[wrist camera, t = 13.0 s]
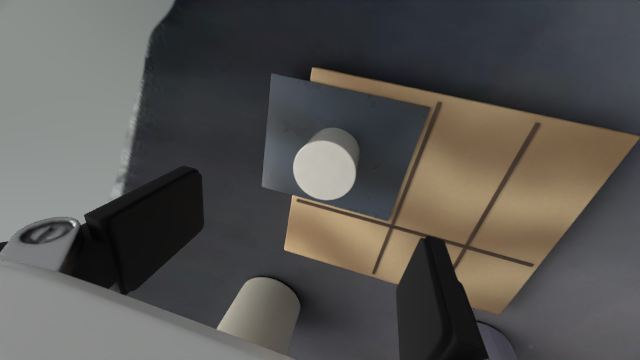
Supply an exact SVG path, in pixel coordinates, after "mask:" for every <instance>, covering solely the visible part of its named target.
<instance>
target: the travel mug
mask: <svg viewBox="0 0 640 360" xmlns="http://www.w3.org/2000/svg"><path fill="white" fill-rule="evenodd" d="M299 312H300V303H299V300H298V298H297V296H296V295H295V293H294V292H293V291H292V290H291V289H290V288H289V287H287V286H286V285H284V284H283V283H281V282H279V281H277V280H274V279H271V278H265V277H257V278H253V279H250V280H248V281H247V282H246V283H245V284H244V286H243V287H242V289H241V290H240V292H239V294H238V295H237V297H236V298H235V300H234V302H233V303H232V305H231V306H230V308H229V310H228V311H227V313H226V314H225V316H224V318H223V319H222V321H221V322H220V324H219V326H218V327H217V330H220V331H222V332H225V333H228V334H230V335H233V336H236V337H238V338H241V339H244V340H246V341H249V342H252V343H254V344H257V345H260V346H262V347H265V348H267V349H270V350H273V351H275V352H278V353H281V354H283V355H286V352H287V349H288V346H289V343H290V340H291V337H292V333H293V330H294V327H295V324H296V321H297V318H298V315H299Z"/></svg>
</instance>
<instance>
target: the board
mask: <svg viewBox="0 0 640 360" xmlns="http://www.w3.org/2000/svg"><path fill="white" fill-rule="evenodd" d="M326 128H339V129H342V130H345V131H347V132H348V133H349V134H351V135H352V136H353V137H354V138H355V140H356V141H357V143H358V146H359V149H360V159H359V164H358V169H357V174H356V179H355V182H354V184H353V186H352V188H351V189H350V190H349V191H348V192H347V193H346V194H345V195H343V196H342V197H340V198H337V199H333V200H321V199H317V198H314V197H312V196H310V195H308V194H307V193H306V192H304V191H303V190H302V189H301V188H300V186H299V185H298V183H297V181H296V179H295V176H294V172H293V164H294V159H295V157H296V155H297V153H298V152H299V150H300V149H301V148H302V147H303V146H304V145H305V144H306V143H307V142H308V141H309V140H310V139H311V138H312V137H313V136H314V135H315V134H316V133H317V132H319V131H321V130H323V129H326ZM639 139H640V136H637V135H634V134H630V133H626V132H622V131H617V130H613V129H608V128H603V127H598V126H594V125H589V124H584V123H579V122H575V121H570V120H565V119H560V118H556V117H551V116H546V115H541V114H537V113H532V112H527V111H522V110H518V109H513V108H508V107H503V106H499V105H494V104H489V103H485V102H480V101H475V100H470V99H466V98H461V97H456V96H451V95H447V94H442V93H437V92H432V91H428V90H423V89H418V88H413V87H409V86H404V85H399V84H394V83H390V82H385V81H380V80H375V79H371V78H366V77H361V76H356V75H352V74H347V73H342V72H338V71H333V70H328V69H323V68H319V67H313V68H312V72H311V79H310V81H306V80H302V79H297V78H293V77H288V76H284V75H279V74H274V73H272V76H271V87H270V99H269V110H268V122H267V133H266V144H265V156H264V167H263V178H262V187H265V188H269V189H272V190H276V191H280V192H283V193H287V194H291V195H292V202H291V208H290V215H289V221H288V228H287V234H286V241H285V247H284V250H286V251H289V252H292V253H296V254H299V255H302V256H306V257H309V258H312V259H315V260H319V261H322V262H325V263H329V264H332V265H335V266H339V267H342V268H345V269H348V270H352V271H355V272H358V273H362V274H365V275H368V276H371V277H375V278H378V279H381V280H385V281H388V282H391V283H394V284H399V282H400V280H401V278H402V275H403V273H404V271H405V269H406V267H407V265H408V263H409V261H410V259H411V256H412V254H413V252H414V250H415V248H416V246H417V244H418V242H419V240H420V238H425V237H426V236H432V237H435V238H439V239H442V240H444V241H445V244H446V247H447V250H448V253H449V256H450V258H451V261H452V264H453V267H454V270H455V273H456V276H457V279H458V281H460V282H461V283H462V285H463V287H464V289H465V292H466V295H467V297H468V300H469V303H470V306H471V307H473V308H477V309H480V310H483V311H487V312H490V313H493V314H497V315H500V314H501V313H502V312H503V311H504V309H505V308H506V307H507V306H508V304H509V303H510V302H511V301H512V299H513V298H514V297H515V295H516V294H517V293H518V292H519V290H520V289H521V288H522V287H523V285H524V284H525V283H526V282H527V280H528V279H529V278H530V277H531V275H532V274H533V273H534V271H535V270H536V269H537V268H538V266H539V265H540V264H541V263H542V261H543V260H544V259H545V258H546V256H547V255H548V254H549V252H550V251H551V250H552V249H553V247H554V246H555V245H556V244H557V242H558V241H559V240H560V239H561V237H562V236H563V235H564V234H565V232H566V231H567V230H568V228H569V227H570V226H571V225H572V223H573V222H574V221H575V220H576V218H577V217H578V216H579V215H580V213H581V212H582V211H583V209H584V208H585V207H586V206H587V204H588V203H589V202H590V201H591V199H592V198H593V197H594V196H595V194H596V193H597V192H598V191H599V189H600V188H601V187H602V185H603V184H604V183H605V182H606V180H607V179H608V178H609V177H610V175H611V174H612V173H613V172H614V170H615V169H616V168H617V166H618V165H619V164H620V163H621V161H622V160H623V159H624V158H625V156H626V155H627V154H628V153H629V151H630V150H631V149H632V147H633V146H634V145H635V144H636V142H637V141H638V140H639Z"/></svg>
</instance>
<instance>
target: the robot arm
mask: <svg viewBox="0 0 640 360" xmlns="http://www.w3.org/2000/svg"><path fill="white" fill-rule="evenodd" d="M84 217H85V220H86V223H84V224H83V225H80V223H79V221H78V220H76V219H74V218H70V217H55V218H49V219H44V220H41V221H37V222H34V223H32V224H30V225H27V226H25V227H24V228H22V229H20V230H19V231H17V232H16V233H15V234H14V235H13V236H12V238H11V239H10V240H9V241H7V242H2V243H0V360H296V359H294V358H291V357H288V356H286V355H283V354H281V353H278V352H275V351H273V350H270V349H267V348H265V347H262V346H260V345H257V344H254V343H252V342H249V341H246V340H244V339H241V338H238V337H236V336H233V335H230V334H228V333H225V332H222V331H220V330H217V329H214V328H212V327H209V326H206V325H204V324H201V323H198V322H196V321H193V320H190V319H188V318H185V317H182V316H179V315H177V314H174V313H171V312H169V311H166V310H163V309H161V308H158V307H155V306H152V305H150V304H147V303H144V302H142V301H139V300H136V299H133V298H131V297H128V296H126V295H127V294H128V293H129V292H130V291H134V290H136V289H137V288H138V287H140V286H141V285H142V284H143V283H144V282H145V281H146V280H147V279H148V278H149V277H151V276H152V275H153V274H154V273H155V272H156V271H157V270H158V269H159V268H160V267H162V266H163V265H164V264H165V263H166V262H167V261H168V260H169V259H170V258H172V257H173V256H174V255H175V254H176V253H177V252H178V251H179V250H180V249H181V248H183V247H184V246H185V245H186V244H187V243H188V242H189V241H190V240H191V239H193V238H194V237H195V236H196V235H197V234H198V233H199V232H200V231H201V230H202V228H203V226H204V215H203V193H202V176H201V174H199V171H198V170H197V169H194V168H190V167H187V166H181V167H179V168H177V169H175V170H173V171H171V172H169V173H167V174H165V175H163V176H161V177H159V178H157V179H155V180H153V181H151V182H149V183H147V184H145V185H143V186H141V187H139V188H137V189H135V190H133V191H131V192H129V193H127V194H125V195H123V196H121V197H119V198H117V199H115V200H113V201H111V202H109V203H107V204H105V205H103V206H101V207H99V208H97V209H95V210H93V211H91V212H89V213H87V214H85V215H84ZM396 298H397V316H398V335H399V353H400V360H490V359H489V356H488V353H487V350H486V347H485V345H484V342H483V339H482V336H481V334H480V331H479V328H478V325H477V322H476V320H475V317H474V314H473V311H472V309H471V306H470V303H469V300H468V297H467V295H466V292H465V289H464V287H463V285H462V283H461V282H460V281H458V279H457V276H456V273H455V270H454V267H453V264H452V261H451V258H450V256H449V253H448V250H447V247H446V244H445V241H444V240H442V239H439V238H435V237H432V236H426V237H425V238H420V240H419V242H418V244H417V246H416V248H415V250H414V252H413V254H412V256H411V259H410V261H409V263H408V265H407V267H406V269H405V271H404V273H403V275H402V278H401V280H400V282H399V284H398V287H397V292H396Z"/></svg>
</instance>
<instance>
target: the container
mask: <svg viewBox="0 0 640 360" xmlns="http://www.w3.org/2000/svg"><path fill="white" fill-rule="evenodd" d="M477 325H478V328H479V331H480V334H481V336H482V339H483V342H484V345H485V347H486V350H487V353H488V356H489V359H490V360H518V358H517V356H516V354H515V352H514V350H513V347H512V346H511V344H510V342H509V340H508V339H507V338H506V337H505V336H504V335H503V334H501V333H500V332H499V331H497V330H496V329H494V328H492V327H490V326H488V325H485V324H481V323H478V322H477Z"/></svg>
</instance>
